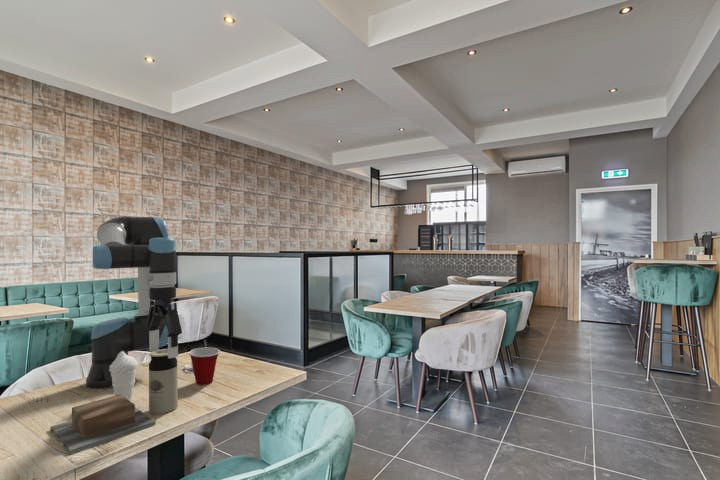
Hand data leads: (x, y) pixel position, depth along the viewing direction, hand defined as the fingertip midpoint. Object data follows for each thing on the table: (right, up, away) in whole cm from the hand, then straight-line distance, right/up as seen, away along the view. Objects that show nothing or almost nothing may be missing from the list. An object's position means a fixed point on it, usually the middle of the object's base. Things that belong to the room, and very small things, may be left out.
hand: (163, 353), depth 119 cm
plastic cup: (+4, -18, +23) cm, 29 cm away
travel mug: (0, -18, 0) cm, 18 cm away
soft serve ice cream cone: (-18, -18, +8) cm, 27 cm away
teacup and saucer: (-7, -19, +41) cm, 46 cm away
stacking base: (-11, -17, -12) cm, 24 cm away
